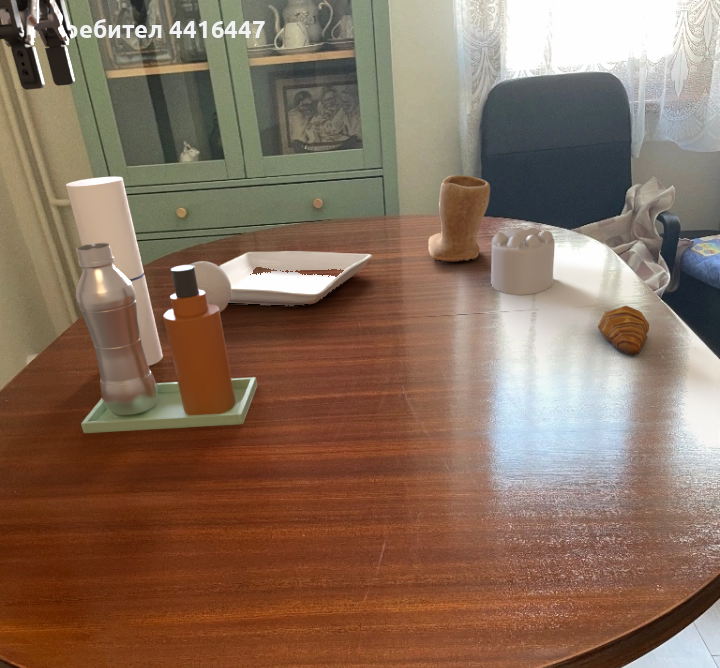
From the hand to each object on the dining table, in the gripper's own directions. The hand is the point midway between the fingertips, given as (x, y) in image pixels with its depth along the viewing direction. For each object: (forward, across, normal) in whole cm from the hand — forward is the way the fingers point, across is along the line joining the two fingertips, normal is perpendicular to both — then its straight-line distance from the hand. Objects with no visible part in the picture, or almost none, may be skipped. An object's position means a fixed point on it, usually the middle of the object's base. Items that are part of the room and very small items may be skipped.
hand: (50, 86), depth 79 cm
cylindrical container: (+36, -11, -2) cm, 38 cm away
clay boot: (+36, -60, +49) cm, 86 cm away
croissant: (+36, -8, +67) cm, 76 cm away
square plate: (+36, -45, +15) cm, 60 cm away
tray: (+36, +7, +8) cm, 38 cm away
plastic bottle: (+36, +7, +3) cm, 37 cm away
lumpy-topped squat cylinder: (+36, -38, +58) cm, 78 cm away
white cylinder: (+36, -6, +11) cm, 38 cm away
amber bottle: (+36, +7, +12) cm, 38 cm away
